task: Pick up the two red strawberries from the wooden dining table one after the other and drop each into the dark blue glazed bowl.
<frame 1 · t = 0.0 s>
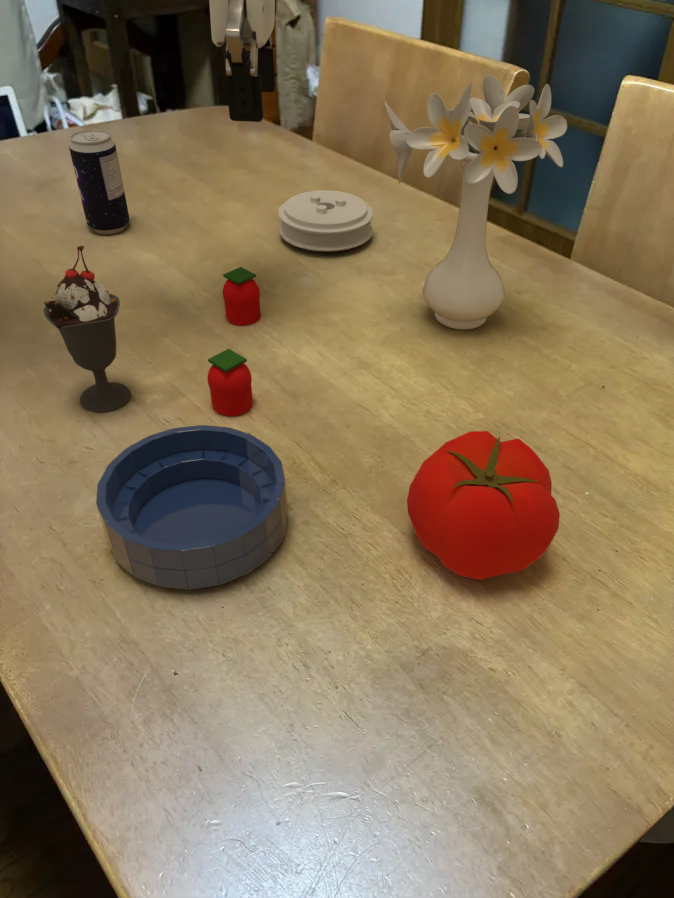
hand: (253, 105, 77), 21 cm above the table, tool pointing down, fingers open, 9 cm apart
lid: (326, 238, 103), on the table
sundae: (106, 398, 75), on the table
tomato: (474, 547, 62), on the table
bowl: (200, 526, 62), on the table
beverage can: (110, 229, 103), on the table
strawberry a: (243, 316, 87), on the table
flower vase: (455, 320, 88), on the table
strawberry b: (232, 404, 75), on the table
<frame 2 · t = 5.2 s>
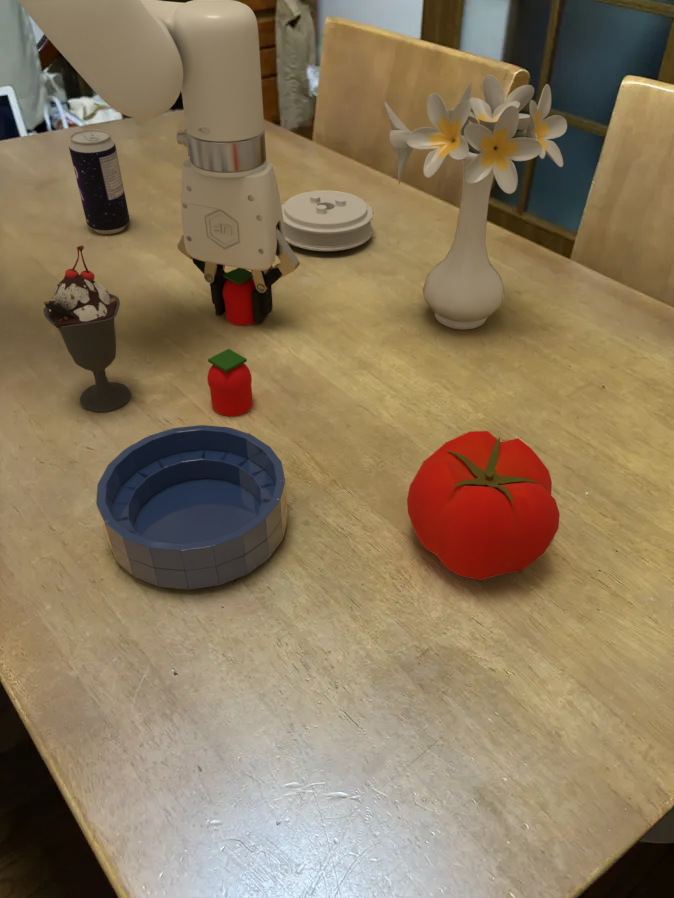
hand: (243, 312, 87), 1 cm above the table, tool pointing down, fingers closed on strawberry a, 4 cm apart
strawberry a: (243, 316, 87), on the table, touching gripper
everything else where it was.
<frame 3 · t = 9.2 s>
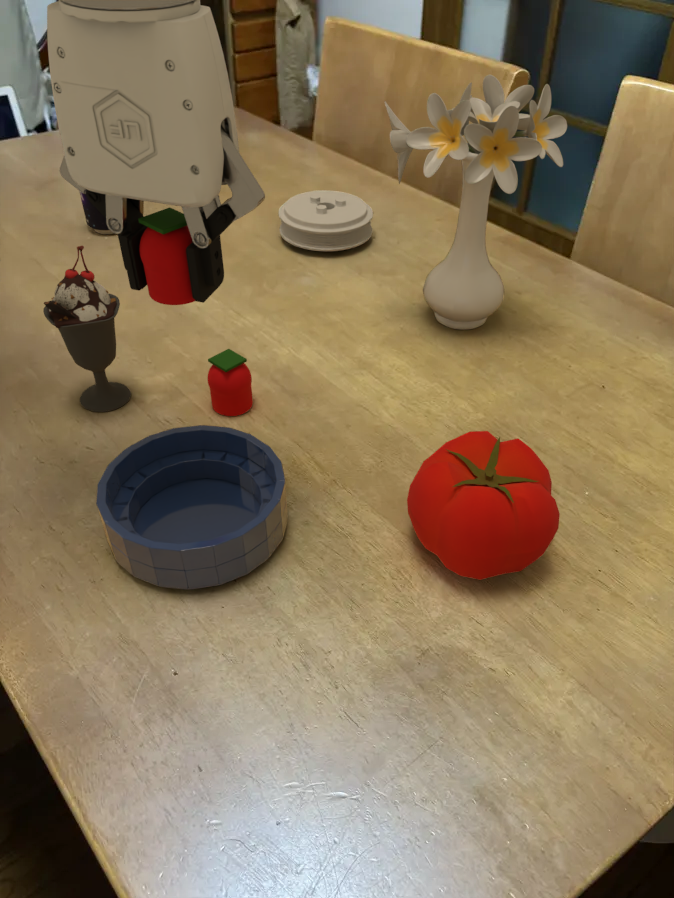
hand: (176, 284, 53), 19 cm above the table, tool pointing down, fingers closed on strawberry a, 4 cm apart
strawberry a: (178, 291, 53), point 19 cm above the table, touching gripper
everything else where it was.
when the fingers open (3 cm above the table, at t = 13.1 s): strawberry a drops 2 cm, resting on bowl.
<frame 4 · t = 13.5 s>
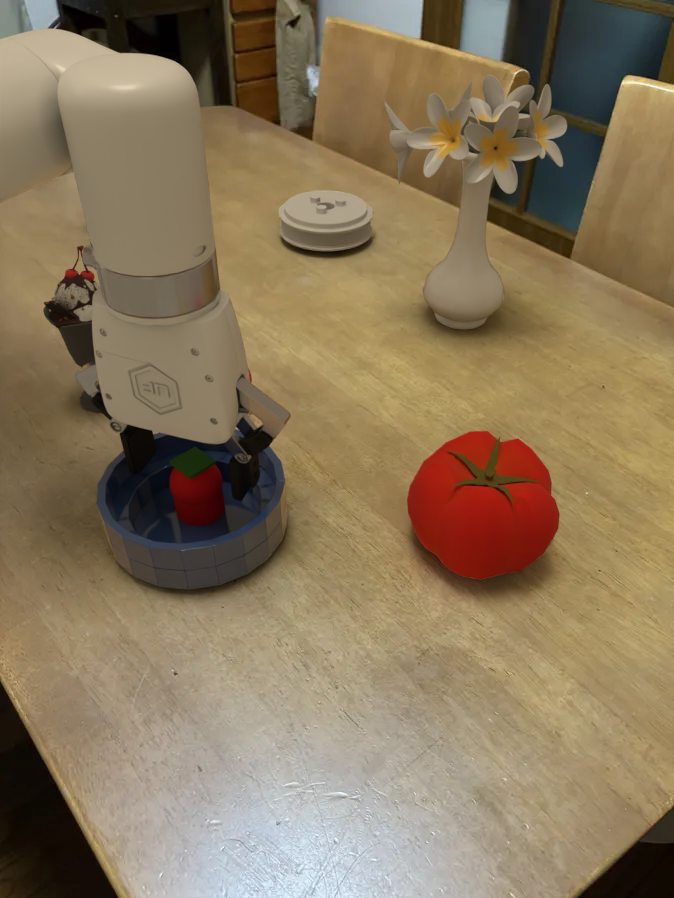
hand: (193, 475, 60), 4 cm above the table, tool pointing down, fingers open, 8 cm apart
strawberry a: (200, 509, 63), point 1 cm above the table, touching bowl
everything else where it was.
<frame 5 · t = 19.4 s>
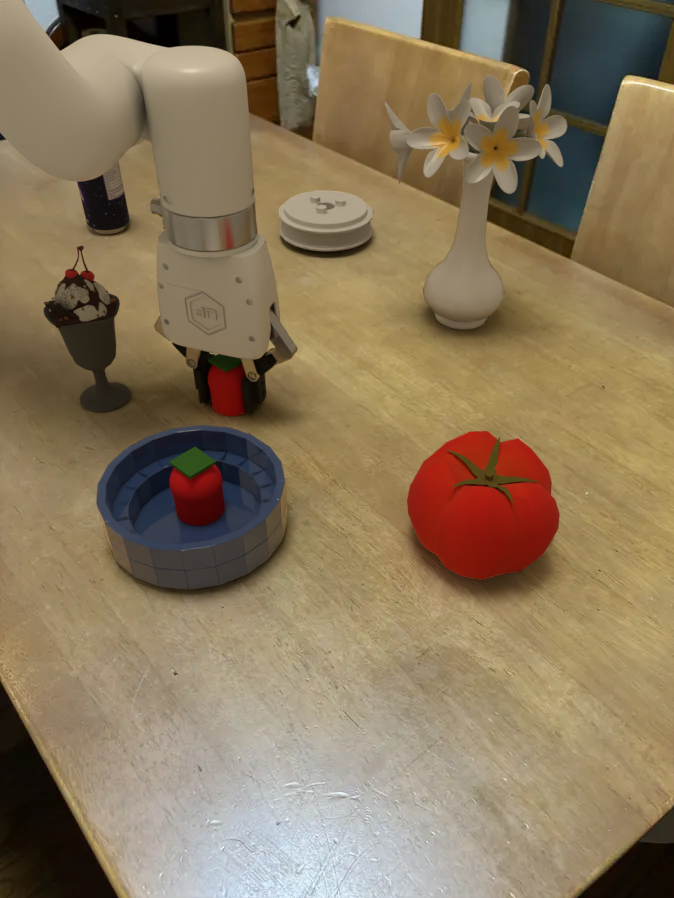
hand: (232, 399, 74), 1 cm above the table, tool pointing down, fingers closed on strawberry b, 4 cm apart
strawberry b: (232, 404, 75), on the table, touching gripper
everything else where it was.
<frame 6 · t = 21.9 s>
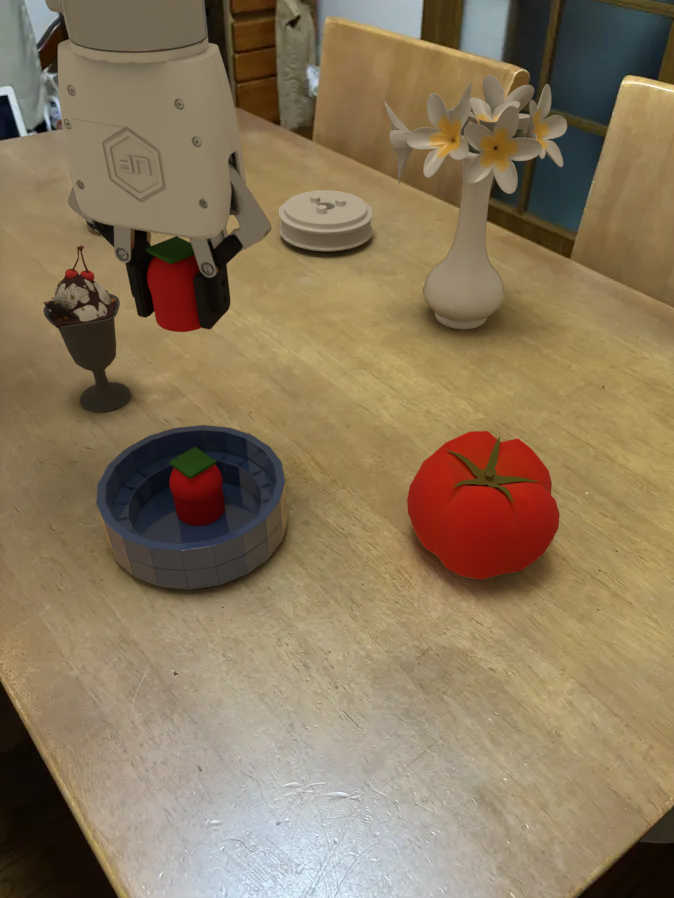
hand: (183, 311, 54), 17 cm above the table, tool pointing down, fingers closed on strawberry b, 4 cm apart
strawberry b: (184, 317, 54), point 17 cm above the table, touching gripper
everything else where it was.
when the fingers open (6 cm above the table, at t = 24.8 s): strawberry b drops 2 cm and tips over, resting on bowl, strawberry a.
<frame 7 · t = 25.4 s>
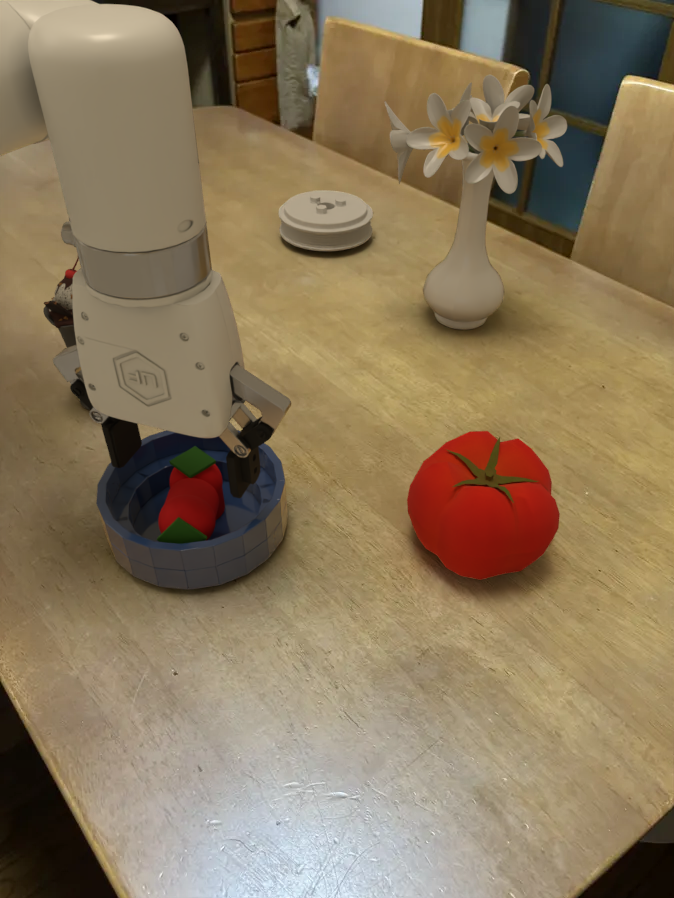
hand: (185, 470, 56), 7 cm above the table, tool pointing down, fingers open, 9 cm apart
strawberry a: (200, 508, 63), point 1 cm above the table, touching bowl, strawberry b
strawberry b: (193, 498, 59), point 4 cm above the table, tilted 80°, touching bowl, strawberry a
everything else where it was.
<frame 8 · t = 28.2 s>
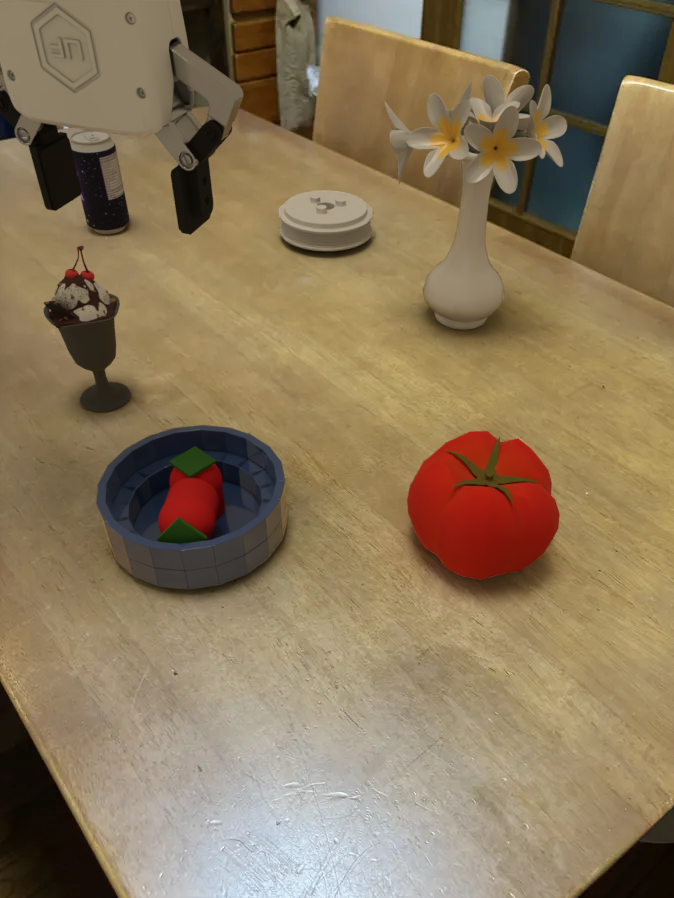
hand: (129, 214, 49), 24 cm above the table, tool pointing down, fingers open, 9 cm apart
nothing on the table moved.
at the end: strawberry a inside the target area in the bowl (1.5 cm from its centre), point 0.6 cm above the bowl's base; strawberry b inside the target area in the bowl (0.6 cm from its centre), point 3.8 cm above the bowl's base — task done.
